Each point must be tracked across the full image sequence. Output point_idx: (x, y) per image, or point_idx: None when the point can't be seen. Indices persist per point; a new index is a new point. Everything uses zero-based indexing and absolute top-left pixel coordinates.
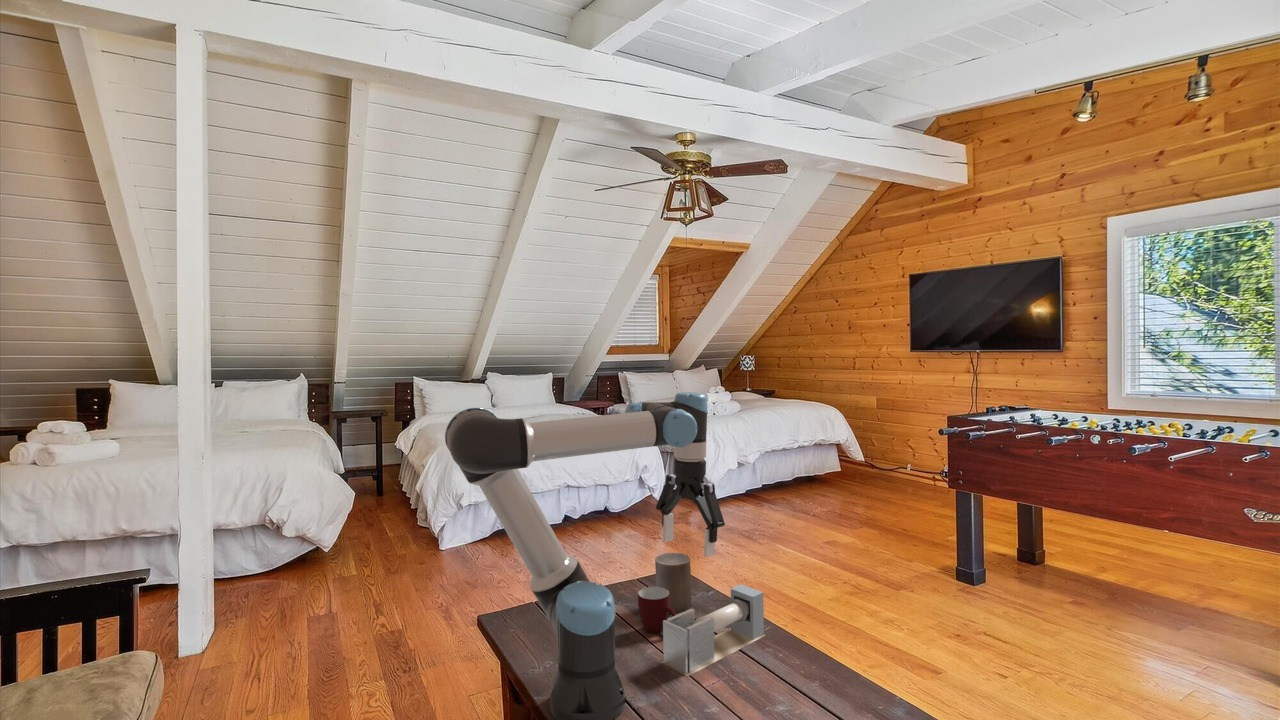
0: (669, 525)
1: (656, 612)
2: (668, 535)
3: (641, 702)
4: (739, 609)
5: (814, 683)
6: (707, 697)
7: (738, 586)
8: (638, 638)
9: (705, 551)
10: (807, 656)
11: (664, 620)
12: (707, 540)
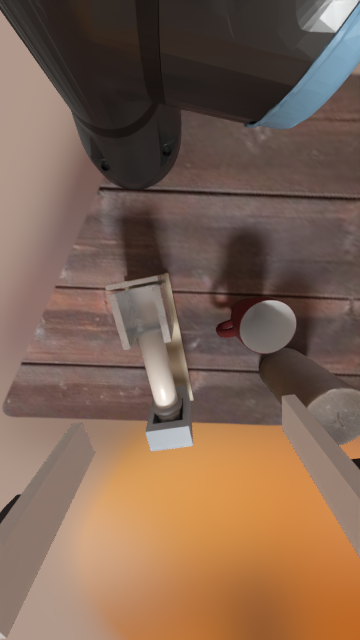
0: (331, 486)
1: (236, 312)
2: (296, 430)
3: (108, 205)
4: (155, 403)
5: (62, 383)
6: (84, 280)
7: (188, 438)
8: (242, 285)
9: (65, 440)
10: (106, 410)
11: (156, 278)
12: (22, 497)
